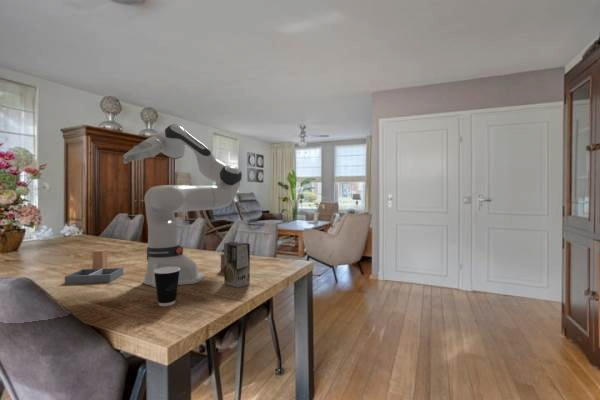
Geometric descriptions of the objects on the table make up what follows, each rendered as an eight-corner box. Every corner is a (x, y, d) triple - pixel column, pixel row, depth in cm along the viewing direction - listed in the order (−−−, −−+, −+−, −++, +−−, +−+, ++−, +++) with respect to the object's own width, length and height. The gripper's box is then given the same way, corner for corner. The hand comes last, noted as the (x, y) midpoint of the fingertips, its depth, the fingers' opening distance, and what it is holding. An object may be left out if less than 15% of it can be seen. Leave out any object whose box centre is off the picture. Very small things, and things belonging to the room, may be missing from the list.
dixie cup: (161, 298, 97) (161, 266, 97) (184, 299, 97) (184, 266, 97) (148, 307, 89) (148, 272, 89) (173, 308, 89) (173, 272, 89)
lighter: (238, 270, 134) (238, 249, 134) (234, 272, 131) (234, 250, 131) (223, 269, 137) (223, 248, 137) (219, 270, 134) (218, 249, 134)
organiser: (123, 274, 127) (123, 267, 127) (110, 282, 116) (110, 274, 116) (82, 276, 125) (82, 269, 125) (64, 284, 113) (64, 276, 113)
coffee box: (250, 284, 113) (250, 243, 113) (236, 288, 109) (236, 245, 108) (237, 279, 120) (237, 241, 119) (223, 283, 115) (223, 242, 115)
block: (107, 271, 133) (106, 249, 133) (102, 273, 129) (102, 251, 129) (97, 271, 133) (97, 249, 132) (92, 273, 129) (92, 251, 129)
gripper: (169, 150, 146) (151, 162, 135) (139, 156, 154) (120, 169, 143) (162, 138, 143) (144, 150, 132) (132, 146, 150) (113, 158, 140)
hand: (131, 160), depth 138 cm, fingers open, 8 cm apart
